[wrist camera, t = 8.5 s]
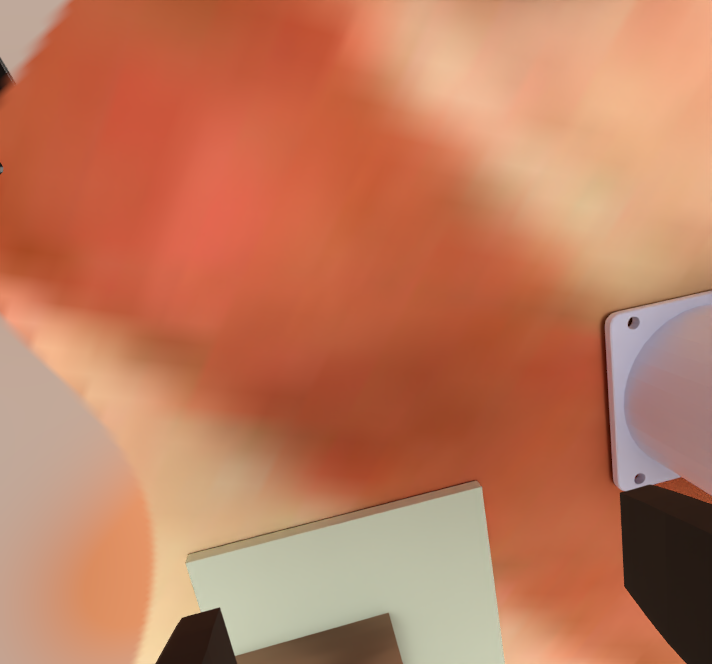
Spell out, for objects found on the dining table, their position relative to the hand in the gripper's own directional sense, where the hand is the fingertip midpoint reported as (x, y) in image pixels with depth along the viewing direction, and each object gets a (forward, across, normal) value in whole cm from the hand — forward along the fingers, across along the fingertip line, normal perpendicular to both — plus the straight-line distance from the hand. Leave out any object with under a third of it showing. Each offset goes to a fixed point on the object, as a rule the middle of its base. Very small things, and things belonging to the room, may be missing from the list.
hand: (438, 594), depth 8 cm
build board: (+10, +1, +13) cm, 17 cm away
